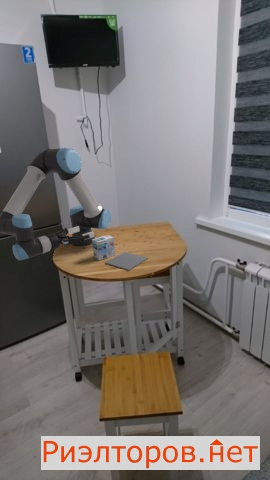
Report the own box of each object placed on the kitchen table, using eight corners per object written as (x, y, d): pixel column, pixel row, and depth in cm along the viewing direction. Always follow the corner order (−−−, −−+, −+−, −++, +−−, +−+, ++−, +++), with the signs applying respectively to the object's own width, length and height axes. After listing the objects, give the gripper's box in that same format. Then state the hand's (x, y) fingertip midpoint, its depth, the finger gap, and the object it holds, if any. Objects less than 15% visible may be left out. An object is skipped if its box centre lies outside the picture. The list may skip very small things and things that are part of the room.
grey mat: (105, 263, 148) (105, 262, 148) (124, 252, 160) (124, 251, 159) (129, 270, 139) (129, 269, 138) (147, 258, 150) (147, 257, 150)
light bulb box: (99, 260, 152) (97, 242, 148) (93, 257, 157) (91, 239, 153) (116, 255, 157) (114, 237, 154) (109, 251, 163) (108, 234, 159)
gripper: (37, 244, 142) (74, 233, 155) (62, 257, 124) (101, 243, 137) (35, 230, 139) (72, 220, 152) (59, 241, 122) (99, 228, 135)
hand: (86, 231), depth 145 cm, fingers open, 13 cm apart
